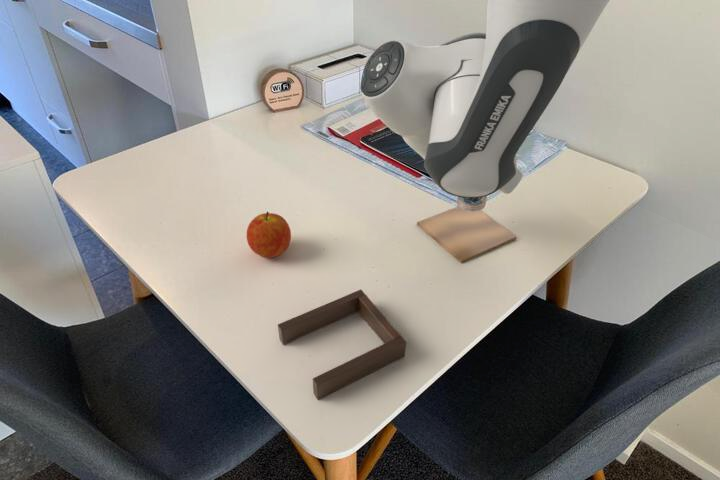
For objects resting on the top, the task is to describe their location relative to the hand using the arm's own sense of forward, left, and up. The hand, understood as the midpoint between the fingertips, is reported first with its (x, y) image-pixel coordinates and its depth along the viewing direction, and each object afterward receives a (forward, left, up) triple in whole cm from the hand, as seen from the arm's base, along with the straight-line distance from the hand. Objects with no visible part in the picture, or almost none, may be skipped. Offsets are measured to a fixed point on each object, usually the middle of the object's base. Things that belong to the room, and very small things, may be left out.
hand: (478, 169), depth 83 cm
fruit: (+12, +32, -12) cm, 36 cm away
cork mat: (0, +1, -12) cm, 12 cm away
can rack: (-11, +32, -12) cm, 36 cm away
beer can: (0, +1, -7) cm, 7 cm away
